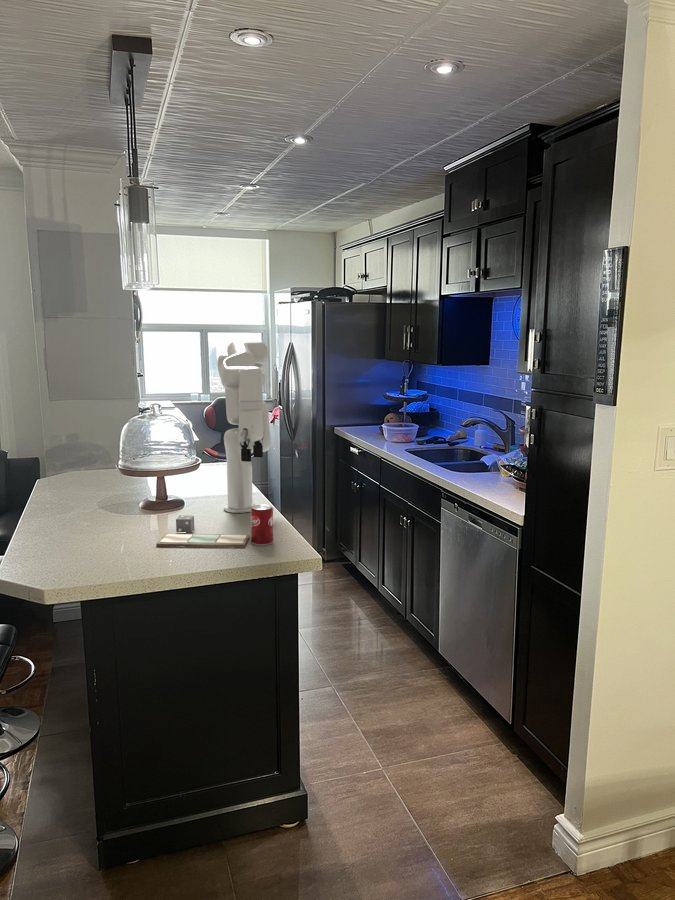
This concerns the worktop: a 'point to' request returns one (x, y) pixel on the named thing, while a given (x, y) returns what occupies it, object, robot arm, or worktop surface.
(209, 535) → the board
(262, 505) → the soda can
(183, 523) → the die
